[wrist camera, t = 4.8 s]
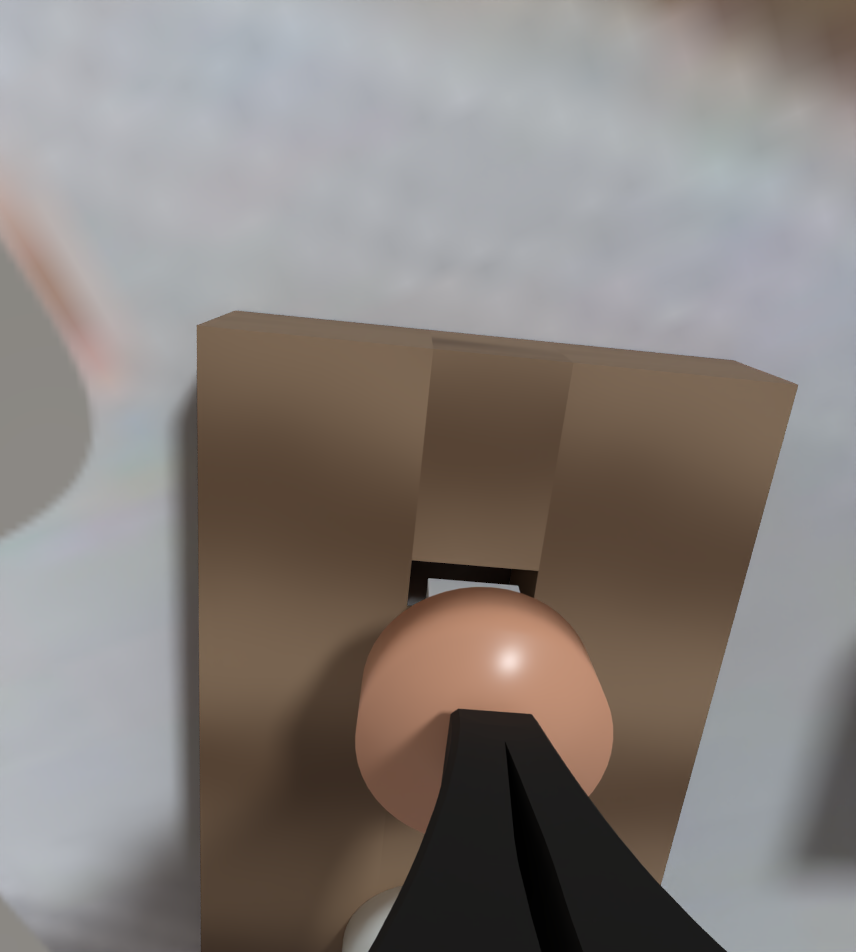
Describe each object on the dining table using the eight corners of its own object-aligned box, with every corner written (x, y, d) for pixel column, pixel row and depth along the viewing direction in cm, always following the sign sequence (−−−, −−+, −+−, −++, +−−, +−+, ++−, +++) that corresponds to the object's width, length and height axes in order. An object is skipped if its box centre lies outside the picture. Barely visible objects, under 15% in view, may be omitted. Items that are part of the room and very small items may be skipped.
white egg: (485, 922, 22) (500, 1065, 18) (346, 914, 22) (332, 1057, 18) (504, 813, 20) (524, 943, 17) (356, 803, 20) (342, 932, 17)
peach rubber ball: (549, 710, 16) (588, 851, 13) (363, 696, 16) (347, 836, 12) (580, 540, 15) (636, 642, 11) (377, 523, 15) (364, 620, 11)
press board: (579, 996, 24) (601, 1098, 21) (228, 977, 23) (201, 1080, 20) (733, 360, 17) (797, 384, 14) (235, 310, 16) (196, 325, 13)
